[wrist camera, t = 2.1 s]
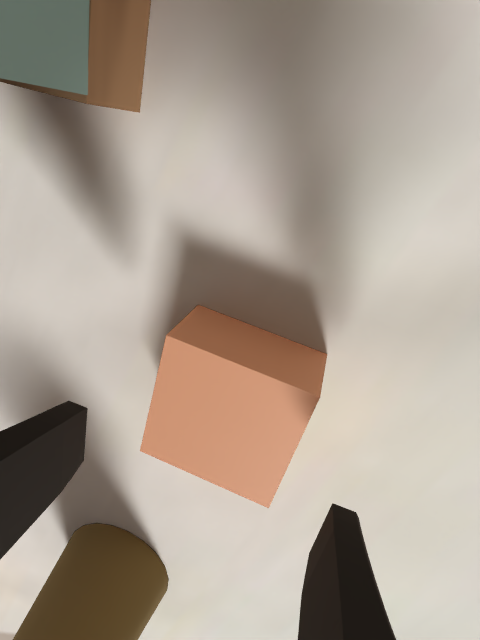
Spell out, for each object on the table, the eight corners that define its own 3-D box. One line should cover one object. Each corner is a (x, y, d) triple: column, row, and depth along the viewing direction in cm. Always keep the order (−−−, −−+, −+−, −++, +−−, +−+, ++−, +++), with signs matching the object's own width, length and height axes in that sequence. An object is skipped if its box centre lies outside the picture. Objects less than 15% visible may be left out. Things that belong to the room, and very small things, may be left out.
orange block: (173, 404, 17) (140, 450, 15) (200, 302, 15) (166, 335, 13) (283, 451, 17) (268, 508, 14) (327, 351, 15) (320, 396, 12)
